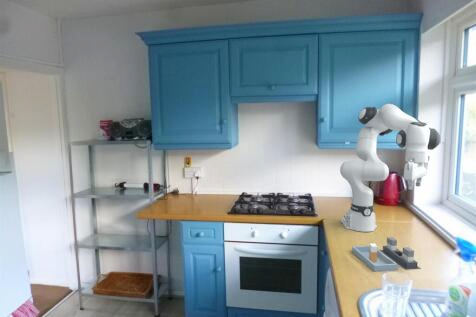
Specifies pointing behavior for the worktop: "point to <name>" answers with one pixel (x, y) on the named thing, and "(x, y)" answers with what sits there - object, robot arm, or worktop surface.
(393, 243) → the block
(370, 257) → the marked fuse
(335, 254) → the worktop surface
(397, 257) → the fuse block
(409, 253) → the outer fuse
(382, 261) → the tray
